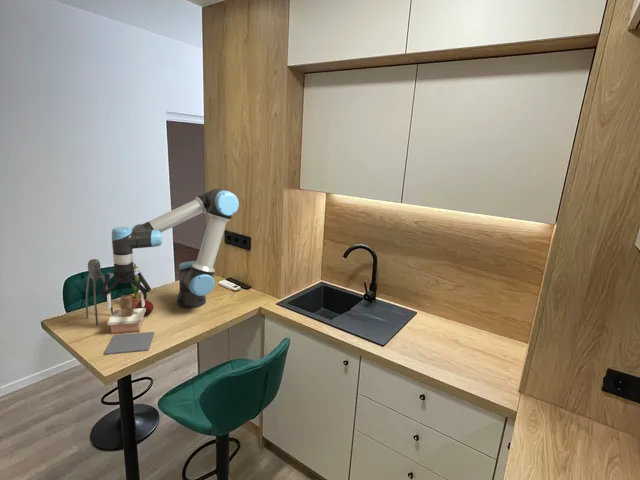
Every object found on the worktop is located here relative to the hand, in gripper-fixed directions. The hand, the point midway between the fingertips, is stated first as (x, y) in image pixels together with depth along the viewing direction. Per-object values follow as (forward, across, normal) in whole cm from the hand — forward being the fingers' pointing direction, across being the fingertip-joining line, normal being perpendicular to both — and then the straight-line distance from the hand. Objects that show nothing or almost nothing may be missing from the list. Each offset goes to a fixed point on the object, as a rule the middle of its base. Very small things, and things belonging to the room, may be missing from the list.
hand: (126, 307), depth 156 cm
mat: (+10, -4, +15) cm, 18 cm away
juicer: (+10, +16, -11) cm, 22 cm away
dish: (+10, 0, 0) cm, 10 cm away
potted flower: (+10, 0, -22) cm, 24 cm away
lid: (+6, 0, 0) cm, 6 cm away
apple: (+10, -5, -12) cm, 17 cm away
